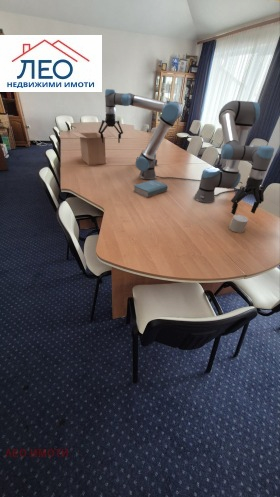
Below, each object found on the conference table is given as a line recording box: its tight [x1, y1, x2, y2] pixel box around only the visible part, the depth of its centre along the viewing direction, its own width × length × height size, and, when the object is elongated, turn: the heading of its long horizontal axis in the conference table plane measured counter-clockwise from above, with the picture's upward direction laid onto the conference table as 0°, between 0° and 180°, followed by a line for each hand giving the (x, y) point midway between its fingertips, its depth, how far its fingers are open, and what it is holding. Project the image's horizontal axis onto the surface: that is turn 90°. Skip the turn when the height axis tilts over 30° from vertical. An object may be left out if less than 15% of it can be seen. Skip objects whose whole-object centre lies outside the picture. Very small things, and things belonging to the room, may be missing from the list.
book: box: [133, 179, 169, 198], centre depth 177 cm, size 23×16×5 cm
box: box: [70, 129, 114, 166], centre depth 229 cm, size 44×36×27 cm
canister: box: [229, 214, 249, 234], centre depth 136 cm, size 9×9×8 cm
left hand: (110, 142), depth 186 cm, fingers open, 13 cm apart
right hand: (242, 213), depth 131 cm, fingers open, 13 cm apart
